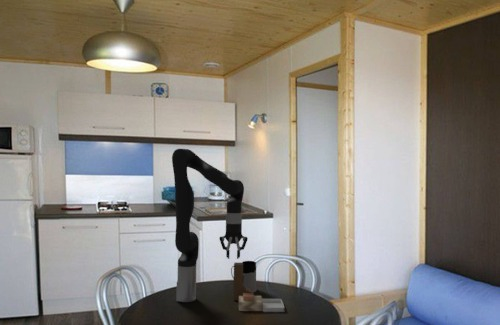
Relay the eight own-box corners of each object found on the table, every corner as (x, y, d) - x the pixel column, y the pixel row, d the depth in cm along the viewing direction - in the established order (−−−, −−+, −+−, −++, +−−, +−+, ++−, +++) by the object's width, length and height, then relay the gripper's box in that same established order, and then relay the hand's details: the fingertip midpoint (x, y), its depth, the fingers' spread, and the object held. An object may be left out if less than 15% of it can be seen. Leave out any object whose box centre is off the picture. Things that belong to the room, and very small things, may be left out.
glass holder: (258, 292, 204) (258, 264, 204) (232, 293, 201) (232, 265, 201) (254, 287, 213) (255, 260, 213) (229, 288, 210) (229, 261, 210)
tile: (243, 300, 180) (243, 296, 180) (243, 297, 185) (243, 292, 185) (253, 300, 180) (254, 296, 180) (253, 297, 185) (253, 293, 185)
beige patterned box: (238, 310, 177) (239, 302, 177) (238, 304, 186) (238, 295, 186) (262, 310, 178) (262, 302, 178) (261, 304, 187) (261, 295, 187)
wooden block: (251, 298, 195) (252, 262, 195) (251, 301, 191) (251, 264, 191) (233, 297, 195) (234, 262, 196) (233, 300, 191) (233, 264, 191)
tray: (262, 312, 176) (263, 307, 176) (261, 302, 188) (261, 298, 188) (284, 312, 177) (284, 307, 177) (281, 302, 189) (281, 298, 189)
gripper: (218, 223, 178) (217, 260, 178) (249, 223, 179) (248, 260, 179) (219, 220, 186) (218, 256, 186) (248, 221, 186) (247, 256, 186)
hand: (233, 258), depth 182 cm, fingers open, 3 cm apart
